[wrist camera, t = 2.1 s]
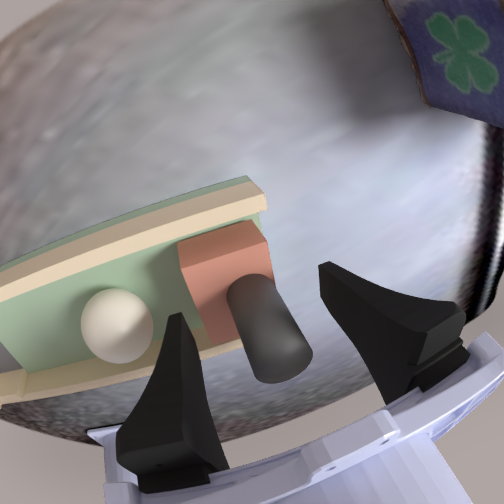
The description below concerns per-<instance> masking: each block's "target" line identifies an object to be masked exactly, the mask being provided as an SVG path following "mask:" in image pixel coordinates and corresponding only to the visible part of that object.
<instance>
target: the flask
mask: <svg viewBox="0 0 504 504" xmlns="http://www.w3.org/2000/svg"><path fill="white" fill-rule="evenodd" d="M384 2H385V7H386V9H387V12H388V15H389V17H390V18H391V17H392V18H393V20H394V22H395V25H396V27H397V29H398V32H399V37H400V40H401V44H402V45H403V47H404V50H405V51H406V53H408V55H409V56H410V58H411V60H412V63H413V64H412V66H411V67H412V68H413V70H414V71H415V72H416V75H417V83H418V85H419V88H420V93H421V98H422V100H423V101H424V102H425V103H426V104H427V105H429V107H430V108H431V107H435V108H438V109H442V110H445V111H450V112H453V113H457V114H461V115H464V116H467V117H469V118H473V119H476V120H480V121H484V122H487V123H489V124H491V125H494V126H497V127H501V128H503V129H504V0H384Z"/></svg>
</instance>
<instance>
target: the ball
mask: <svg viewBox="0 0 504 504" xmlns="http://www.w3.org/2000/svg"><path fill="white" fill-rule="evenodd" d="M153 327H154V326H153V319H152V316H151V313H150V311H149V309H148V307H147V305H146V304H145V303H144V302H143V300H142V299H141V298H139V297H138V296H137V295H136V294H134V293H132V292H130V291H128V290H125V289H120V288H111V289H106V290H103V291H100V292H99V293H97V294H95V295H94V296H93V297H92V298H91V299H90V300H89V301H88V302H87V304H86V305H85V307H84V310H83V312H82V316H81V332H82V336H83V339H84V341H85V343H86V345H87V346H88V348H89V349H90V350H91V351H92V352H93V353H94V354H95V355H96V356H97V357H99V358H100V359H102V360H104V361H107V362H110V363H116V364H122V363H128V362H131V361H133V360H135V359H137V358H139V357H140V356H141V355H142V354H143V353H144V352H145V351H146V350H147V348H148V347H149V345H150V343H151V340H152V336H153Z"/></svg>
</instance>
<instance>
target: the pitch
mask: <svg viewBox="0 0 504 504" xmlns="http://www.w3.org/2000/svg"><path fill="white" fill-rule="evenodd" d="M267 209H268V208H267V203H266V198H265V193H264V192H263V191H262V190H261V189H260V188H259V187H258V186H257V185H256V184H255V183H254V182H253V181H252V180H251V179H250V178H249V177H248V176H247V175H246V176H242V177H239V178H235V179H232V180H229V181H225V182H222V183H218V184H215V185H212V186H208V187H205V188H202V189H199V190H195V191H192V192H189V193H186V194H183V195H180V196H177V197H174V198H170V199H167V200H164V201H161V202H159V203H156V204H153V205H150V206H147V207H144V208H141V209H138V210H135V211H133V212H130V213H127V214H124V215H122V216H119V217H116V218H113V219H111V220H108V221H106V222H103V223H100V224H98V225H95V226H92V227H90V228H87V229H85V230H82V231H80V232H77V233H75V234H72V235H70V236H67V237H65V238H63V239H60V240H58V241H55V242H53V243H51V244H48V245H46V246H44V247H41V248H39V249H37V250H35V251H32V252H30V253H28V254H26V255H24V256H21V257H19V258H17V259H15V260H13V261H10V262H8V263H6V264H4V265H2V266H0V409H1V406H2V404H8V403H15V402H22V401H29V400H36V399H42V398H48V397H53V396H59V395H64V394H70V393H75V392H80V391H85V390H89V389H94V388H99V387H103V386H108V385H112V384H116V383H120V382H124V381H129V380H133V379H137V378H140V377H144V376H148V375H152V372H153V370H154V367H155V364H156V361H157V358H158V355H159V352H160V349H161V345H162V342H163V338H164V334H165V330H166V325H167V320H168V317H169V315H172V314H176V313H179V312H182V314H183V316H184V318H185V320H186V322H187V324H188V327H189V329H190V331H191V333H192V335H193V337H194V339H195V341H196V345H197V349H198V352H199V356H200V360H204V359H207V358H210V357H214V356H217V355H220V354H223V353H226V352H229V351H232V350H235V349H238V348H241V347H244V346H243V344H242V341H241V338H240V336H238V337H235V338H232V339H229V340H226V341H223V342H220V343H217V344H214V345H212V342H211V340H210V338H209V336H208V333H207V331H206V329H205V326H204V324H203V322H202V320H201V317H200V315H199V313H198V310H197V308H196V305H195V303H194V301H193V298H192V296H191V293H190V291H189V289H188V286H187V284H186V281H185V279H184V276H183V274H182V271H181V268H180V262H179V255H178V249H177V243H178V242H181V241H184V240H187V239H190V238H193V237H196V236H199V235H202V234H205V233H208V232H211V231H215V230H218V229H221V228H224V227H227V226H230V225H233V224H237V223H240V222H243V221H246V220H250V219H252V221H253V222H254V223H255V225H256V226H257V228H258V229H259V230H260V232H261V233H262V235H263V232H262V227H261V222H260V218H259V213H258V212H261V211H264V210H267ZM111 288H120V289H125V290H128V291H130V292H132V293H134V294H136V295H137V296H138V297H139V298H141V299H142V300H143V302H144V303H145V304H146V305H147V307H148V309H149V311H150V313H151V316H152V319H153V326H154V327H153V336H152V340H151V343H150V345H149V347H148V348H147V350H146V351H145V352H144V353H143V354H142V355H141V356H140V357H139V358H137V359H135V360H133V361H131V362H128V363H122V364H116V363H110V362H107V361H104V360H102V359H100V358H99V357H97V356H96V355H95V354H94V353H93V352H92V351H91V350H90V349H89V348H88V346H87V345H86V343H85V341H84V339H83V336H82V332H81V316H82V312H83V310H84V307H85V305H86V304H87V302H88V301H89V300H90V299H91V298H92V297H93V296H94V295H95V294H97V293H99V292H100V291H103V290H106V289H111Z"/></svg>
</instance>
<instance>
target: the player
mask: <svg viewBox="0 0 504 504" xmlns="http://www.w3.org/2000/svg"><path fill="white" fill-rule="evenodd" d="M177 249H178V255H179V262H180V268H181V271H182V274H183V276H184V279H185V281H186V284H187V286H188V289H189V291H190V293H191V296H192V298H193V301H194V303H195V305H196V308H197V310H198V313H199V315H200V317H201V320H202V322H203V324H204V326H205V329H206V331H207V333H208V336H209V338H210V340H211V342H212V345H214V344H217V343H220V342H223V341H226V340H229V339H232V338H235V337H238V336H240V338H241V341H242V344H243V346H244V349H245V352H246V354H247V357H248V360H249V362H250V365H251V368H252V370H253V373H254V375H255V377H256V379H257V380H259V381H261V382H263V383H269V384H273V383H280V382H284V381H287V380H289V379H291V378H293V377H295V376H297V375H298V374H300V373H301V372H302V371H304V370H305V369H306V367H307V366H308V365H309V364H310V362H311V360H312V357H313V352H312V349H311V347H310V346H309V344H308V342H307V340H306V339H305V337H304V335H303V334H302V332H301V330H300V328H299V327H298V325H297V323H296V322H295V320H294V318H293V317H292V315H291V313H290V311H289V310H288V308H287V306H286V305H285V303H284V301H283V300H282V298H281V296H280V294H279V293H278V291H277V289H276V286H275V280H274V275H273V270H272V264H271V259H270V254H269V249H268V243H267V240H266V239H265V238H264V236H263V235H262V233H261V232H260V230H259V229H258V228H257V226H256V225H255V223H254V222H253V221H252V219H250V220H246V221H243V222H240V223H237V224H233V225H230V226H227V227H224V228H221V229H218V230H215V231H211V232H208V233H205V234H202V235H199V236H196V237H193V238H190V239H187V240H184V241H181V242H178V243H177Z"/></svg>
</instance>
